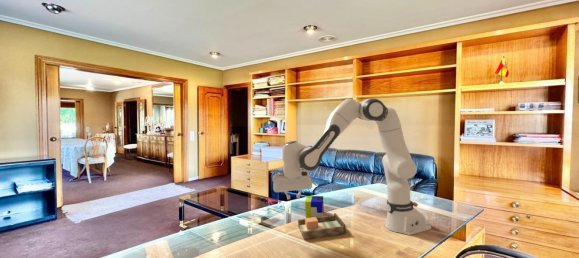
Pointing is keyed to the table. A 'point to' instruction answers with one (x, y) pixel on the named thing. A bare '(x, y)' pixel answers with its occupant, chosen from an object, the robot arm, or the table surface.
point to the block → (311, 223)
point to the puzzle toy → (314, 206)
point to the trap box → (323, 227)
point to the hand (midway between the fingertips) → (293, 198)
